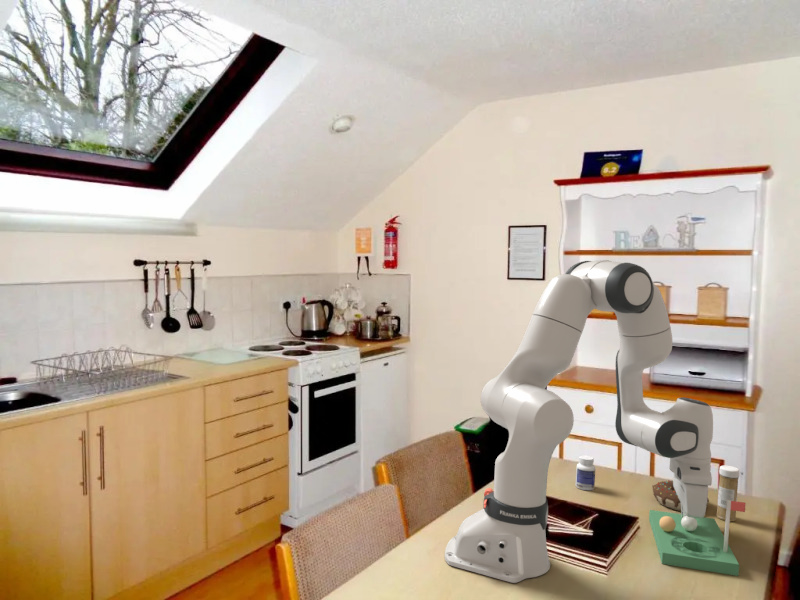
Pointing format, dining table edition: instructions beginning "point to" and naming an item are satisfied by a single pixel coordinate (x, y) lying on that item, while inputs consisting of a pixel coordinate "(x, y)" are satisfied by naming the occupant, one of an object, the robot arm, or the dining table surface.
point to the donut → (667, 495)
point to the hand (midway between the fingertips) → (686, 521)
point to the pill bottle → (585, 473)
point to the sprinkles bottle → (727, 490)
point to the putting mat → (696, 542)
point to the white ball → (689, 523)
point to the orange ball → (667, 523)
